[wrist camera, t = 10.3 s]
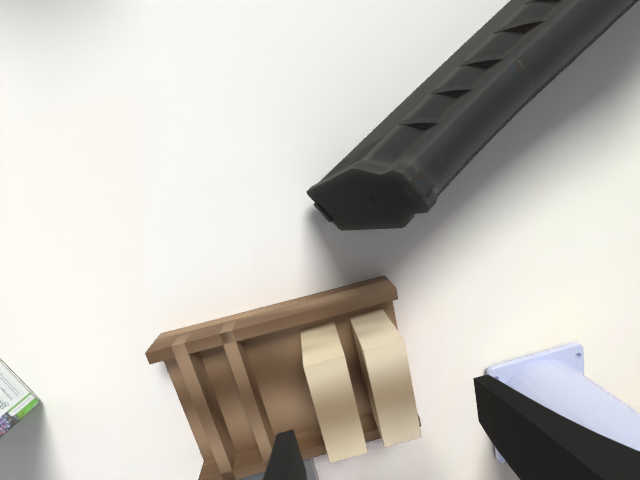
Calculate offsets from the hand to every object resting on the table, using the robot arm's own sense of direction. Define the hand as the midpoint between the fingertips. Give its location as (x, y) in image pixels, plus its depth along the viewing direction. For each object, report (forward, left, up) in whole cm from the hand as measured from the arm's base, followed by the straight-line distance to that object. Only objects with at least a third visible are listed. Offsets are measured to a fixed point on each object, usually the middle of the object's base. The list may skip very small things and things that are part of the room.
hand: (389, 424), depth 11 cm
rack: (-4, +5, -10) cm, 12 cm away
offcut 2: (-4, -1, -10) cm, 11 cm away
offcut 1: (-4, +2, -10) cm, 11 cm away
